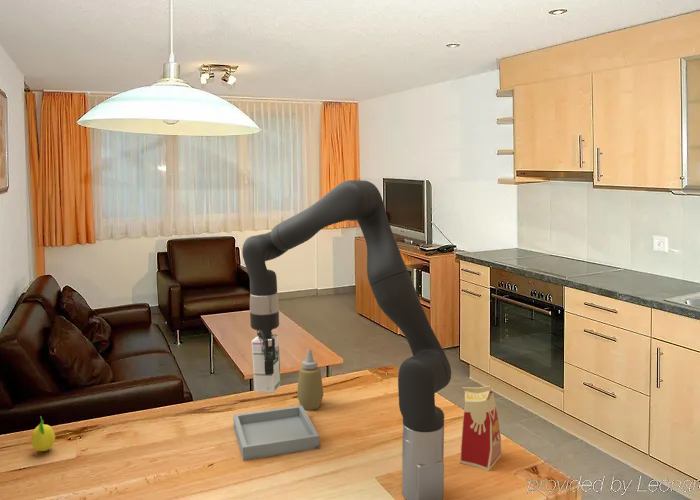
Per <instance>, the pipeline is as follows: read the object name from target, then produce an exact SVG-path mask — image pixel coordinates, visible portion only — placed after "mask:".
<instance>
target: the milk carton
mask: <svg viewBox="0 0 700 500" xmlns="http://www.w3.org/2000/svg"><path fill="white" fill-rule="evenodd" d="M461 389H463V390H464V408H463V417H462V429H461V441H460V442H461V444H460V459H459V461H460V462H459V463H460V464H464V465H468V466H473V467H475V468H479V469H481V470H484V471H487V472H489V471H490V470H491V469H492V468H493V467H494V466H495V464H496V463H497V462H498V461H499V460H500V458H501V457H502V455H503V453H502V436H501V435H502V434H501V428H500V422H499V414H498V409H497V405H496V404H497V403H496V399H495V396H494V392H493V391H491V390H492V385H488V386H480V387H468V386H467V387H465V386H463V387H461Z"/></svg>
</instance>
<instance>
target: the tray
mask: <svg viewBox="0 0 700 500" xmlns="http://www.w3.org/2000/svg"><path fill="white" fill-rule="evenodd" d="M232 416H233V428H234V432H235V436H236V439H237V442H238V443H237V444H238V446H239V450H240V454H241V458H242V460H243V461H248V460H255V459H261V458H267V457H272V456H279V455H286V454H290V453H291V454H293V453H299V452H303V451H304V452H305V451H312V450H315V449H320V435H319V433H318V431H317V430H316V427H315V426H314V425H313V422H312V420H311V419H310V417H309V415H308V413H307V412H306V409H304V408H303V406H302V405H295V406H289V407H279V408H274V409H273V408H272V409H267V410H265V409H264V410H258V411H251V412H244V413H238V414H232Z"/></svg>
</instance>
